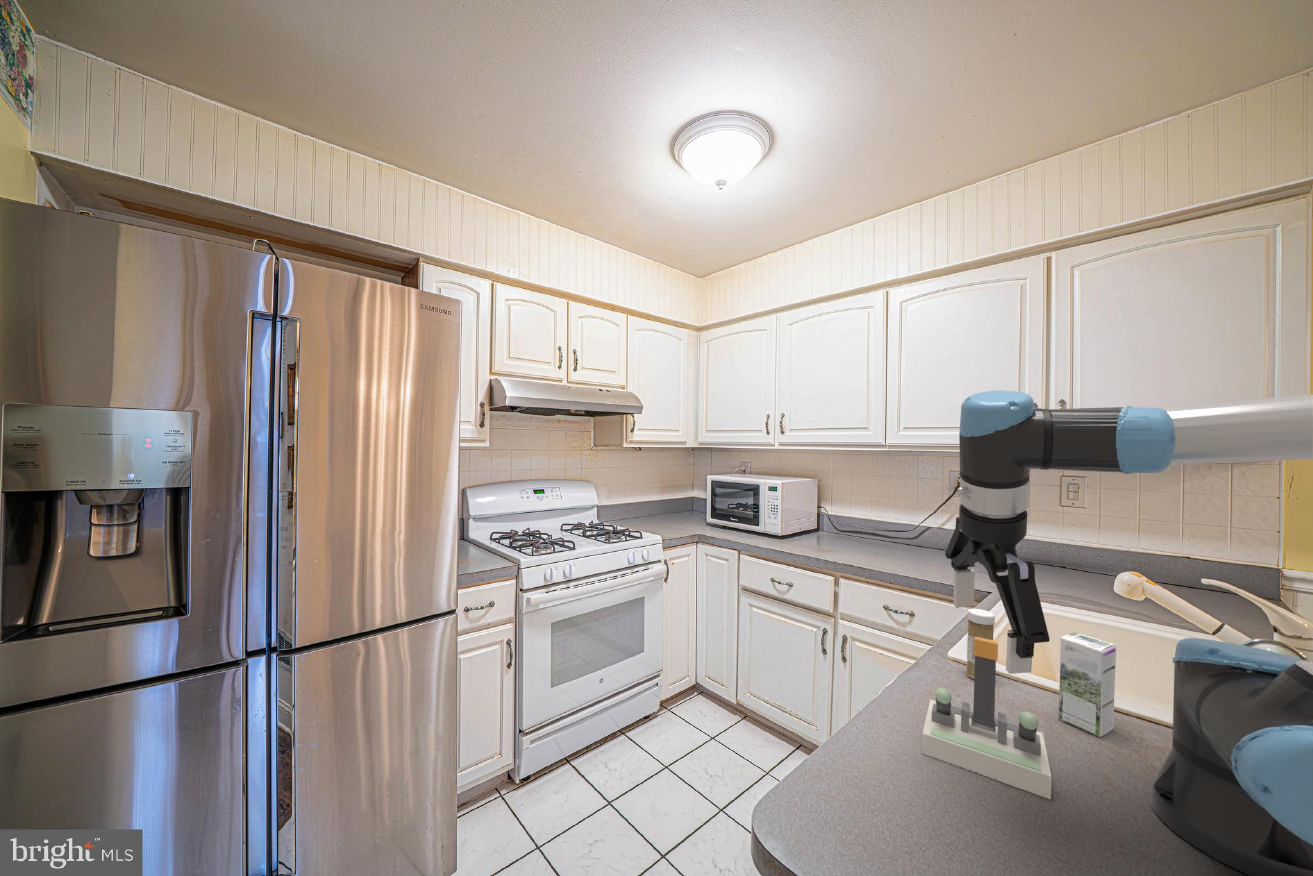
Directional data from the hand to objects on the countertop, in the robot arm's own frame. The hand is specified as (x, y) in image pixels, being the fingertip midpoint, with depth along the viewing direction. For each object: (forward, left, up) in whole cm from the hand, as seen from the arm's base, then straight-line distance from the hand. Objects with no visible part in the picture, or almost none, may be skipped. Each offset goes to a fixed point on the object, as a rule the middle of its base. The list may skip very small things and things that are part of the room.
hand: (988, 635), depth 70 cm
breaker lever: (+2, -2, -14) cm, 14 cm away
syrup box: (+2, -27, -19) cm, 33 cm away
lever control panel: (+2, -2, -19) cm, 19 cm away
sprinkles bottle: (+19, -25, -19) cm, 36 cm away
